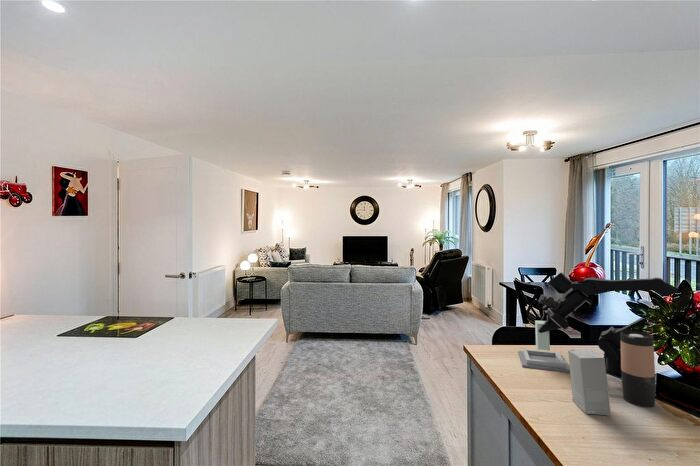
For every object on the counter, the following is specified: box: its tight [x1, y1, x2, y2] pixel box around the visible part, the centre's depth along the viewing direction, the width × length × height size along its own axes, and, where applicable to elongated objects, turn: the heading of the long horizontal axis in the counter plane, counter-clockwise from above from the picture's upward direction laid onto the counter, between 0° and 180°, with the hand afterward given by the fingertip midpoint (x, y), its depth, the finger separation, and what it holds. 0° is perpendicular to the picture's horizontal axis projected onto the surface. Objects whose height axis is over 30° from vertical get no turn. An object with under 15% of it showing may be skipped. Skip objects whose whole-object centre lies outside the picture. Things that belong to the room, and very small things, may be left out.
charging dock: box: [517, 348, 570, 373], centre depth 130 cm, size 16×16×2 cm
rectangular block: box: [534, 319, 551, 351], centre depth 130 cm, size 4×5×10 cm
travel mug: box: [620, 331, 656, 408], centre depth 99 cm, size 8×8×20 cm
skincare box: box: [567, 349, 611, 416], centre depth 96 cm, size 8×7×16 cm
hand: (538, 330), depth 131 cm, fingers closed on rectangular block, 5 cm apart
